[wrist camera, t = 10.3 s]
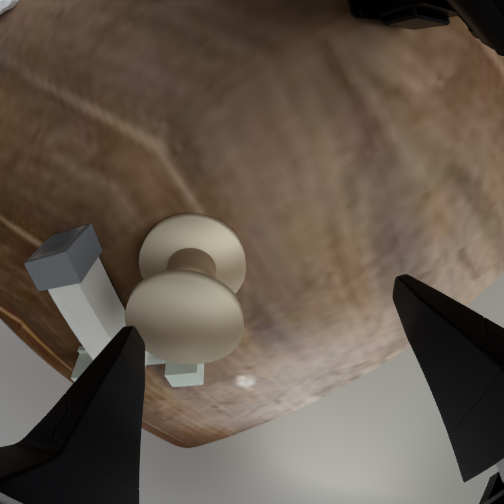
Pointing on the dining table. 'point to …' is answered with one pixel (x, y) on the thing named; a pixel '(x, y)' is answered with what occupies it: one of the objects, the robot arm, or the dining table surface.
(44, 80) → the dining table surface
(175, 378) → the notched board
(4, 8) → the acanthus leaf ornament
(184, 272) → the bobbin
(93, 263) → the mallet
